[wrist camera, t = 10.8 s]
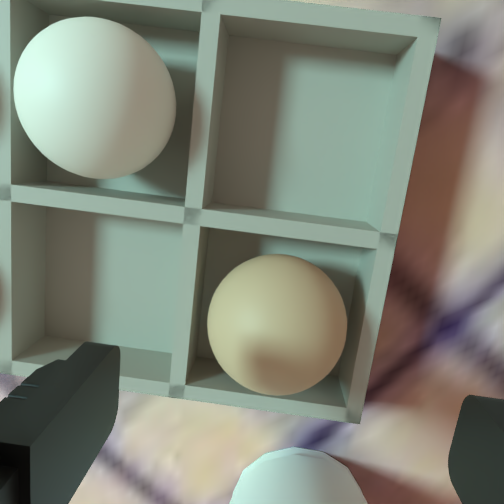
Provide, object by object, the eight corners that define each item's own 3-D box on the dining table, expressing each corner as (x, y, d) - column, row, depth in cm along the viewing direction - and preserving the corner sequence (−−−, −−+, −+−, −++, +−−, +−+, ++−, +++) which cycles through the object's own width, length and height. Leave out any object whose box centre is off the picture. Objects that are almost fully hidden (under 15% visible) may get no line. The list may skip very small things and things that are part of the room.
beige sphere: (224, 234, 17) (202, 264, 13) (346, 250, 17) (373, 287, 12) (212, 346, 19) (188, 414, 14) (327, 362, 18) (344, 437, 14)
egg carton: (-129, -19, 17) (-215, -57, 14) (411, 43, 16) (441, 18, 13) (-105, 320, 20) (-171, 348, 17) (347, 383, 19) (359, 423, 16)
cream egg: (64, 33, 16) (-28, -20, 11) (195, 48, 16) (159, 1, 11) (61, 167, 17) (-24, 172, 12) (183, 183, 17) (146, 193, 12)
